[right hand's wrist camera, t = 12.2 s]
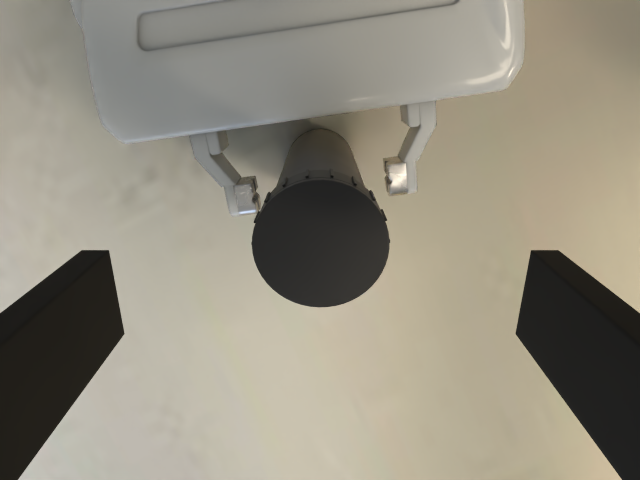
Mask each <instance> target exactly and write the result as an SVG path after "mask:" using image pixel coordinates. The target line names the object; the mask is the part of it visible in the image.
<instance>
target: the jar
mask: <svg viewBox="0 0 640 480" xmlns="http://www.w3.org/2000/svg"><path fill="white" fill-rule="evenodd" d="M306 169H309V171H312V170H330V169H333V171H335V172H340V173H342V174H345V175H348V176H350V177H352V176H354V177H355V179H356V180H357V181H358V182H360V183H361V184H362V185H363V186H364V183H363V181H362V178H361V175H360V173H359V170H358V167H357V164H356V162H355V159H354V156H353V154H352V151H351V149H350V147H349V145H348V143H347V142H346V141H345V140H344V139H343V138H342V137H341V136H340V135H338V134H337V133H335V132H333V131H330V130H326V129H316V130H311V131H308V132H306V133H304V134H302V135H301V136H300V137H298V138H297V139H296V140H295V142H294V143H293V144H292V146H291V148H290V151H289V153H288V156H287V159H286V162H285V164H284V167H283V170H282V173H281V175H280V178H279V181H278V184H277V186H278V185H279V184H280V183H282V182H283V181H284V178H286V177H287V178H290V177H292V176H294V175H296V174H299V173H302V172H306ZM277 186H276V187H277ZM364 187H365V186H364Z"/></svg>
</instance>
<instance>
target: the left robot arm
mask: <svg viewBox="0 0 640 480" xmlns="http://www.w3.org/2000/svg"><path fill="white" fill-rule="evenodd" d="M70 3H71V6H72V10H73V13H74V16H75V18H76V20H77V22H78V24H79V25H80V27H81V28H82V30H83V37H84V44H85V51H86V58H87V64H88V70H89V75H90V81H91V85H92V90H93V94H94V99H95V103H96V107H97V111H98V115H99V118H100V121H101V123H102V125H103V127H104V128H105V129H106V130H107V131H108V132H110V133H111V134H112V135H113V136H114V137H115V138H117V139H118V140H119V141H120V142H122V143H124V144H131V143H139V142H146V141H153V140H160V139H167V138H174V137H181V136H188V135H189V136H190V140H191V144H192V148H193V152H194V156H195V159H196V160H197V161H198V162H199V163H200V164H201V165H202V166H203V167H204V168H205V170H206V171H207V172H208V173H209V174H210V175H211V176H212V177H213V178H214V179H215V181H216V182H217V183H218V184H219V185H220V186H221V187H224V190H225V195H226V199H227V204H228V208H229V212H230V215H231V216H232V217H234V216H242V215H248V214H255V213H258V211H259V209H260V208H261V202H260V196H259V194H258V193H257V192H256V190H257V188H258V185H257V180H256V176H250V177H241V176H240V175H239V173H238V172H237V171H236V170H235V168H234V167H233V166H232V165H231V163H230V162H229V161H228V160H227V159H226V157H225V156H224V155H223V154H222V151H223V150H224V149H226V148H227V147H228V145H229V143H228V138H227V133H226V130H230V129H237V128H244V127H251V126H259V125H266V124H273V123H280V122H287V121H294V120H301V119H308V118H315V117H322V116H329V115H336V114H343V113H350V112H357V111H364V110H371V109H378V108H386V107H393V106H400V110H401V121H402V122H403V123H405V124H407V125H408V126H410V129H409V131H408V133H407V136H406V138H405V140H404V142H403V144H402V147H401V149H400V151H399V153H398V156H396V157H390V158H383V163H384V171H385V173H386V174H387V175H386V177H385V185H386V190H387V192H388V195H389V196H394V195H402V194H410V193H416V192H417V173H416V161H417V160H419V158H420V156H421V154H422V152H423V150H424V148H425V146H426V144H427V142H428V140H429V138H430V136H431V134H432V132H433V131H434V129H435V127H436V100H442V99H449V98H456V97H463V96H470V95H477V94H484V93H491V92H498V91H503V90H505V89H507V88H508V86H509V85H510V84H511V83H512V81H513V80H514V78H515V77H516V75H517V74H518V72H519V71H520V69H521V67H522V65H523V61H524V51H525V14H524V0H70Z"/></svg>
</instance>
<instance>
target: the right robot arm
mask: <svg viewBox="0 0 640 480" xmlns="http://www.w3.org/2000/svg"><path fill="white" fill-rule="evenodd" d="M123 335H124V329H123V324H122V318H121V313H120V308H119V302H118V297H117V291H116V286H115V281H114V275H113V270H112V265H111V259H110V254H109V250H82V251H80V252H79V253H78V254H76V255H75V256H74V257H73V258H71V259H70V260H69V261H67V262H66V263H65V264H63V265H62V266H61V267H60V268H58V269H57V270H56V271H54V272H53V273H52V274H51V275H49V276H48V277H47V278H45V279H44V280H43V281H41V282H40V283H39V284H38V285H36V286H35V287H34V288H32V289H31V290H30V291H29V292H27V293H26V294H25V295H23V296H22V297H21V298H19V299H18V300H17V301H16V302H14V303H13V304H12V305H10V306H9V307H8V308H7V309H5V310H4V311H3V312H1V313H0V480H18V479H19V477H20V476H21V475H22V473H23V472H24V470H25V469H26V468H27V466H28V465H29V464H30V462H31V461H32V460H33V458H34V457H35V455H36V454H37V453H38V451H39V450H40V449H41V447H42V446H43V444H44V443H45V442H46V440H47V439H48V438H49V436H50V435H51V434H52V432H53V431H54V429H55V428H56V427H57V425H58V424H59V423H60V421H61V420H62V419H63V417H64V416H65V414H66V413H67V412H68V410H69V409H70V408H71V406H72V405H73V403H74V402H75V401H76V399H77V398H78V397H79V395H80V394H81V393H82V391H83V390H84V388H85V387H86V386H87V384H88V383H89V382H90V380H91V379H92V377H93V376H94V375H95V373H96V372H97V371H98V369H99V368H100V367H101V365H102V364H103V362H104V361H105V360H106V358H107V357H108V356H109V354H110V353H111V351H112V350H113V349H114V347H115V346H116V345H117V343H118V342H119V341H120V339H121V338H122V336H123ZM516 335H517V336H518V338H519V339H520V341H521V342H522V343H523V345H524V346H525V347H526V349H527V350H528V351H529V353H530V354H531V356H532V357H533V358H534V360H535V361H536V362H537V364H538V365H539V367H540V368H541V369H542V371H543V372H544V373H545V375H546V376H547V377H548V379H549V380H550V382H551V383H552V384H553V386H554V387H555V388H556V390H557V391H558V392H559V394H560V395H561V397H562V398H563V399H564V401H565V402H566V403H567V405H568V406H569V408H570V409H571V410H572V412H573V413H574V414H575V416H576V417H577V418H578V420H579V421H580V423H581V424H582V425H583V427H584V428H585V429H586V431H587V432H588V434H589V435H590V436H591V438H592V439H593V440H594V442H595V443H596V444H597V446H598V447H599V449H600V450H601V451H602V453H603V454H604V455H605V457H606V458H607V460H608V461H609V462H610V464H611V465H612V466H613V468H614V469H615V470H616V472H617V473H618V475H619V476H620V477H621V479H622V480H640V313H639V312H637V311H636V310H635V309H633V308H632V307H631V306H630V305H628V304H627V303H626V302H624V301H623V300H622V299H621V298H619V297H618V296H617V295H615V294H614V293H613V292H611V291H610V290H609V289H608V288H606V287H605V286H604V285H602V284H601V283H600V282H599V281H597V280H596V279H595V278H593V277H592V276H591V275H589V274H588V273H587V272H586V271H584V270H583V269H582V268H580V267H579V266H578V265H577V264H575V263H574V262H573V261H571V260H570V259H569V258H567V257H566V256H565V255H564V254H562V253H561V252H560V251H558V250H531V254H530V259H529V265H528V270H527V275H526V281H525V286H524V291H523V297H522V302H521V308H520V313H519V318H518V324H517V329H516Z"/></svg>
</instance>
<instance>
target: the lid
mask: <svg viewBox="0 0 640 480" xmlns="http://www.w3.org/2000/svg"><path fill="white" fill-rule="evenodd" d="M385 221H387V219H386V216H385V214H384V212H383V209H381V210H380V208H379V206H378V203H377V202H376V199H375V197H374V194H373V192H372V191H371V190H370V191H369V190H368V189H367V188H365V187H364V186H363V185H362V184H361V183H360V182H358V181H357V180H356V179H355V177H354V176H352V177H350V176H348V175H345V174H342V173H340V172H335V171H333V169H330V170H312V171H309V169H306V172H302V173H299V174H296V175H294V176H292V177H290V178H287V177H286V178H284V181H283V182H282V183H280V184H279V185H278V186H277V187H276V188H275V189H274V190H273V191H272V192H271V193H270V192H268V194H267V196H266V199H265V201H264V204H263V206H262V208H261V211H258V213H257V215H256V218H255V220H254V223H256V224H255V227H254V230H253V236H252V250H253V256H254V260H255V263H256V266H257V268H258V270H259V272H260V274H261V276H262V277H263V279H264V280H265V281H266V283H267V284H268V285H269V286H270V287H271V288H272V289H273V290H274V291H276V292H277V293H278V294H280V295H281V296H283V297H284V298H286V299H288V300H290V301H292V302H295V303H298V304H301V305H305V306H310V307H330V306H336V305H340V304H344V303H346V302H349V301H351V300H353V299H355V298H357V297H359V296H360V295H362V294H363V293H364V292H366V291H367V290H368V289H369V288H370V287H371V286H372V285H373V284H374V283H375V282H376V280H377V279H378V278H379V276H380V275H381V273H382V271H383V269H384V267H385V265H386V261H387V258H388V253H389V243H390V239H389V233H388V229H387V225H386V222H385Z"/></svg>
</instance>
